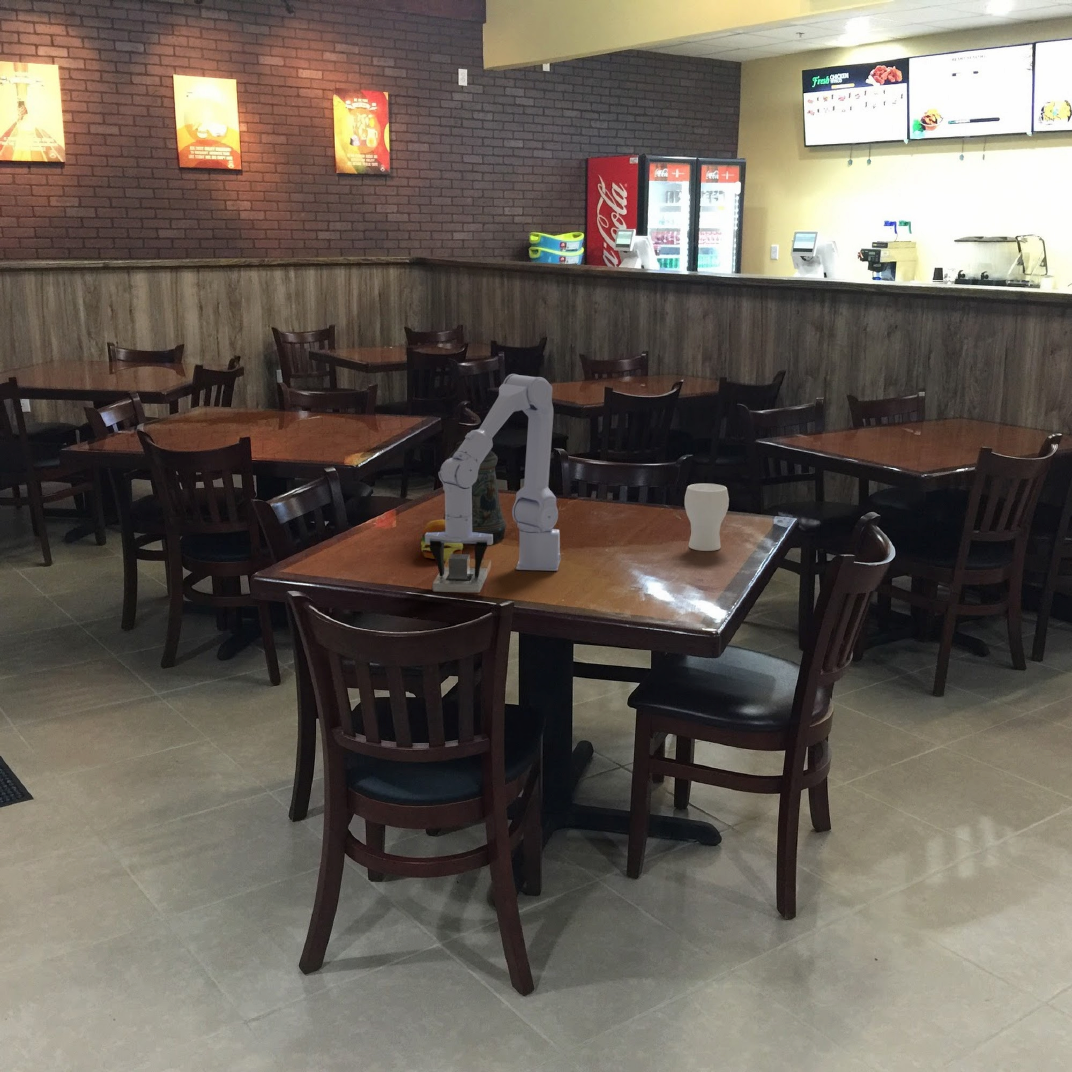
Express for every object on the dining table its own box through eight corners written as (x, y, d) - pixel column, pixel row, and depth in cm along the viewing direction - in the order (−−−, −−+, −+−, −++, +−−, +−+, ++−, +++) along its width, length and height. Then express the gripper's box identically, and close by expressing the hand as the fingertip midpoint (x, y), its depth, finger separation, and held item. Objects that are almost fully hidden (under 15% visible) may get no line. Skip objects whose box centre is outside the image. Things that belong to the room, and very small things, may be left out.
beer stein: (477, 549, 275) (476, 447, 269) (418, 536, 286) (416, 439, 280) (519, 535, 288) (519, 438, 281) (461, 524, 299) (460, 430, 293)
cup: (725, 554, 271) (728, 492, 267) (681, 551, 273) (683, 490, 269) (727, 543, 281) (730, 483, 277) (684, 540, 283) (686, 482, 280)
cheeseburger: (425, 563, 262) (421, 520, 261) (417, 562, 272) (414, 521, 272) (468, 560, 264) (464, 517, 264) (459, 559, 275) (455, 518, 274)
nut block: (470, 583, 247) (469, 554, 246) (467, 588, 244) (467, 559, 242) (451, 582, 248) (451, 553, 246) (449, 587, 244) (448, 558, 242)
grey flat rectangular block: (491, 566, 260) (491, 559, 259) (479, 592, 240) (479, 584, 240) (448, 565, 260) (447, 558, 260) (432, 591, 241) (432, 583, 241)
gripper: (421, 518, 238) (423, 579, 242) (489, 519, 237) (490, 581, 241) (427, 510, 245) (428, 570, 249) (494, 512, 244) (494, 572, 247)
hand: (459, 575), depth 245 cm, fingers open, 7 cm apart
